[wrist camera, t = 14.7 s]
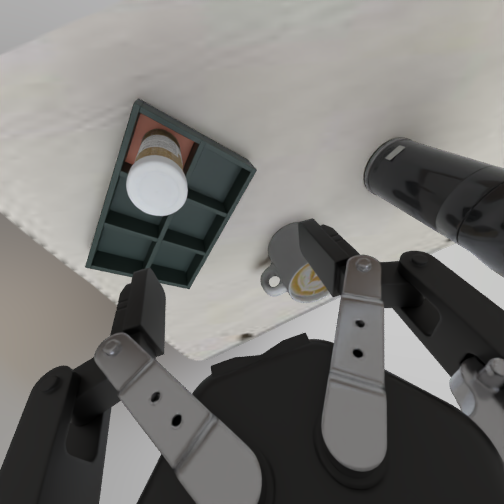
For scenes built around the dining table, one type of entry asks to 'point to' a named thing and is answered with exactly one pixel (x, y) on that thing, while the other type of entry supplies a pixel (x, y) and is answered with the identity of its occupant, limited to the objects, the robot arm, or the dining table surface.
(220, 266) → the dining table surface
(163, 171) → the sprinkles bottle
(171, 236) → the rack
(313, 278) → the coffee mug
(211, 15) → the dining table surface
